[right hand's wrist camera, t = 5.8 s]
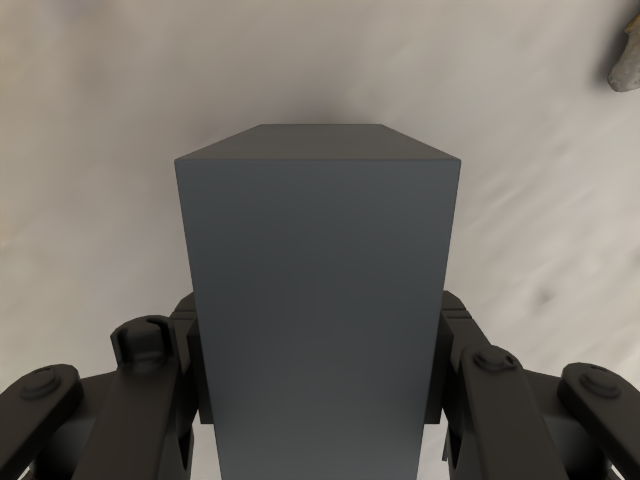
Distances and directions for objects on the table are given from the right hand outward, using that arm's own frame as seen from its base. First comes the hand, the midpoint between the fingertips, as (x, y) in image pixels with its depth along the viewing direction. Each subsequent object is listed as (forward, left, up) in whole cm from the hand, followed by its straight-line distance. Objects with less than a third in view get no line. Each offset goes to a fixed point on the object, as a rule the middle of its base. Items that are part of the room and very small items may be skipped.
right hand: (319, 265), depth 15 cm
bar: (+25, -5, -1) cm, 25 cm away
